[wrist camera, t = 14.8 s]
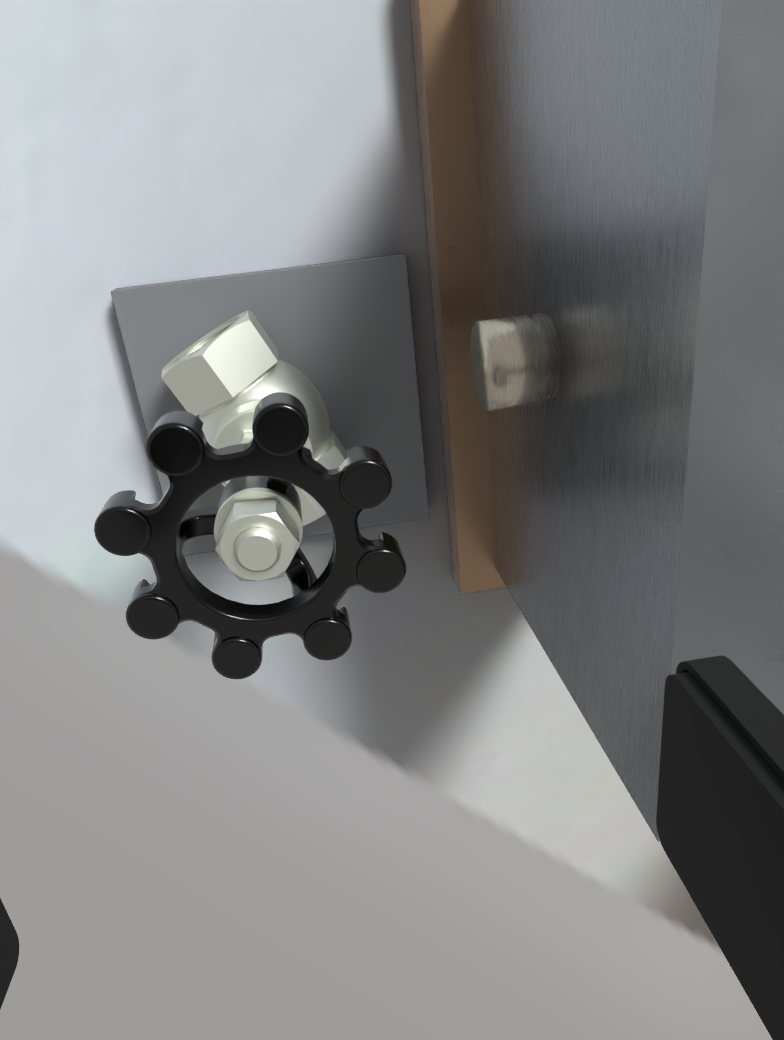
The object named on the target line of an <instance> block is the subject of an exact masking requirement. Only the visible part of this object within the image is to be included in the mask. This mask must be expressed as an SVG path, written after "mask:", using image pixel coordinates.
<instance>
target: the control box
mask: <svg viewBox="0 0 784 1040" xmlns="http://www.w3.org/2000/svg"><path fill="white" fill-rule="evenodd" d="M410 10H411V23H412V37H413V50H414V63H415V76H416V89H417V102H418V116H419V129H420V142H421V155H422V168H423V182H424V195H425V208H426V221H427V234H428V248H429V261H430V274H431V287H432V300H433V314H434V327H435V340H436V353H437V366H438V379H439V393H440V406H441V419H442V432H443V445H444V459H445V472H446V485H447V498H448V511H449V525H450V538H451V551H452V564H453V577H454V580H455V582H456V584H457V586H458V588H459V590H460V592H461V594H467V593H473V592H479V591H485V590H491V589H497V588H503V587H507V589H508V590H509V592H510V594H511V595H512V597H513V599H514V600H515V602H516V604H517V605H518V607H519V609H520V610H521V612H522V614H523V615H524V617H525V619H526V620H527V622H528V624H529V626H530V627H531V629H532V631H533V632H534V634H535V636H536V637H537V639H538V641H539V642H540V644H541V646H542V647H543V649H544V651H545V652H546V654H547V656H548V657H549V659H550V661H551V662H552V664H553V666H554V668H555V669H556V671H557V673H558V674H559V676H560V678H561V679H562V681H563V683H564V684H565V686H566V688H567V689H568V691H569V693H570V694H571V696H572V698H573V699H574V701H575V703H576V704H577V706H578V708H579V710H580V711H581V713H582V715H583V716H584V718H585V720H586V721H587V723H588V725H589V726H590V728H591V730H592V731H593V733H594V735H595V736H596V738H597V740H598V741H599V743H600V745H601V746H602V748H603V750H604V752H605V753H606V755H607V757H608V758H609V760H610V762H611V763H612V765H613V767H614V768H615V770H616V772H617V773H618V775H619V777H620V778H621V780H622V782H623V783H624V785H625V787H626V788H627V790H628V792H629V794H630V795H631V797H632V799H633V800H634V802H635V804H636V805H637V807H638V809H639V810H640V812H641V814H642V815H643V817H644V819H645V820H646V822H647V824H648V825H649V827H650V829H651V830H652V832H653V834H654V836H655V837H656V839H657V841H660V839H659V835H658V831H657V825H656V814H657V799H658V783H659V768H660V752H661V737H662V721H663V706H664V690H665V681H666V678H667V676H669V675H672V674H675V673H676V668H677V666H678V664H679V663H681V662H683V661H689V660H695V659H701V658H707V657H713V656H720V655H722V656H726V657H727V658H729V659H730V660H731V661H732V662H733V663H734V664H735V665H736V666H737V667H738V668H739V669H740V670H741V671H742V672H743V673H744V674H745V675H746V676H747V677H748V678H749V679H750V680H751V681H752V682H753V684H754V685H755V686H756V687H757V688H758V689H759V690H760V691H761V692H762V693H763V694H764V695H765V696H766V697H767V698H768V699H769V700H770V701H771V702H772V703H773V704H774V705H775V706H776V707H777V708H778V709H779V710H780V711H781V712H782V714H783V715H784V0H410Z"/></svg>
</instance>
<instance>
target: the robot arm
mask: <svg viewBox="0 0 784 1040" xmlns="http://www.w3.org/2000/svg"><path fill="white" fill-rule="evenodd" d="M656 825H657V831H658V835H659V839H660V841H661V844H662V846H663V848H664V850H665V852H666V854H667V856H668V858H669V859H670V861H671V863H672V865H673V866H674V868H675V870H676V872H677V873H678V875H679V877H680V878H681V880H682V882H683V884H684V885H685V887H686V889H687V891H688V892H689V894H690V896H691V898H692V899H693V901H694V903H695V905H696V906H697V908H698V910H699V912H700V913H701V915H702V917H703V919H704V920H705V922H706V924H707V926H708V927H709V929H710V931H711V933H712V934H713V936H714V938H715V940H716V941H717V943H718V945H719V947H720V948H721V950H722V952H723V954H724V955H725V957H726V959H727V961H728V962H729V964H730V966H731V967H732V969H733V971H734V973H735V974H736V976H737V978H738V980H739V981H740V983H741V985H742V987H743V988H744V990H745V992H746V994H747V995H748V997H749V999H750V1001H751V1002H752V1004H753V1005H754V1008H755V1009H756V1011H757V1013H758V1014H759V1016H760V1018H761V1020H762V1022H763V1023H764V1025H765V1027H766V1029H767V1030H768V1032H769V1034H770V1035H771V1037H772V1039H773V1040H784V715H783V714H782V712H781V711H780V710H779V709H778V708H777V707H776V706H775V705H774V704H773V703H772V702H771V701H770V700H769V699H768V698H767V697H766V696H765V695H764V694H763V693H762V692H761V691H760V690H759V689H758V688H757V687H756V686H755V685H754V684H753V682H752V681H751V680H750V679H749V678H748V677H747V676H746V675H745V674H744V673H743V672H742V671H741V670H740V669H739V668H738V667H737V666H736V665H735V664H734V663H733V662H732V661H731V660H730V659H729V658H727V657H726V656H722V655H720V656H713V657H707V658H701V659H695V660H689V661H683V662H681V663H679V664H678V666H677V668H676V673H675V674H672V675H669V676H667V678H666V681H665V690H664V706H663V721H662V737H661V752H660V768H659V783H658V799H657V814H656ZM18 955H19V940H18V936H17V933H16V931H15V929H14V927H13V924H12V922H11V920H10V918H9V916H8V914H7V912H6V909H5V907H4V905H3V903H2V901H1V899H0V1008H1V1006H2V1003H3V1001H4V998H5V995H6V993H7V990H8V987H9V984H10V982H11V979H12V977H13V974H14V971H15V969H16V965H17V962H18Z"/></svg>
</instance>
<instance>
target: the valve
mask: <svg viewBox="0 0 784 1040" xmlns="http://www.w3.org/2000/svg"><path fill="white" fill-rule="evenodd" d="M162 379H163V381H164V382H165V383H166V385H167V386H168V387H169V389H170V390H171V391H172V392H173V394H174V395H175V396H176V398H177V399H178V400H179V401H180V403H181V404H182V405H183V407H184V408H185V409H186V411H187V412H185V411H172V412H169V413H167V414H165V415H163V416H162V417H161V418H160V419H159V420H158V421H157V422H156V424H155V426H154V428H153V429H152V431H151V433H150V435H149V437H148V439H147V442H146V452H147V456H148V458H149V461H150V462H151V464H152V465H153V466H154V467H155V468H156V469H157V470H159V471H160V472H162V473H164V474H166V475H167V476H168V478H169V480H170V485H169V486H168V488H167V490H166V491H165V493H164V494H163V497H162V499H161V500H160V501H158V502H156V503H154V504H144V503H141V502H139V501H137V500H134V499H135V495H136V492H135V491H129V490H128V491H121V492H118V493H116V494H114V495H113V496H111V497H110V498H109V499H108V501H107V502H106V504H105V505H104V507H103V509H102V511H101V512H100V514H99V516H98V517H97V519H96V522H95V526H94V532H95V536H96V539H97V541H98V542H99V544H100V545H101V546H102V547H103V548H104V549H105V550H107V551H108V552H110V553H113V554H116V555H120V556H130V555H134V554H137V553H140V554H143V555H145V556H146V557H148V558H149V559H150V561H151V563H152V565H153V568H154V571H155V574H156V577H157V581H156V582H155V583H153V584H151V585H149V583H148V582H147V581H146V580H145V579H143V580H142V581H140V582H139V583H138V585H137V586H136V587H135V589H134V592H133V594H132V597H131V600H130V602H129V605H128V608H127V611H126V621H127V623H128V626H129V627H130V629H131V630H132V631H133V632H134V633H135V634H137V635H139V636H141V637H143V638H147V639H160V638H164V637H166V636H168V635H170V634H171V633H172V632H173V631H174V630H175V629H176V628H177V626H178V624H179V623H181V622H183V621H188V620H191V621H196V622H198V623H200V624H202V625H204V626H206V627H208V628H210V629H212V630H213V631H214V632H215V633H216V634H215V639H214V645H213V652H212V663H213V666H214V668H215V669H216V671H217V672H218V673H220V674H221V675H222V676H224V677H227V678H230V679H243V678H246V677H249V676H251V675H252V674H254V673H255V672H256V671H257V670H258V669H259V667H260V665H261V662H262V648H263V647H262V646H263V642H264V641H265V640H266V639H268V638H270V637H273V636H278V635H282V634H288V633H292V634H296V635H298V636H300V637H301V638H302V640H303V642H304V646H305V649H306V650H307V652H308V653H309V654H310V655H311V656H313V657H315V658H317V659H320V660H333V659H336V658H339V657H341V656H342V655H343V654H345V653H346V652H347V651H348V649H349V647H350V646H351V643H352V632H351V626H350V620H349V614H348V612H347V610H346V608H345V607H342V608H341V609H340V610H338V609H337V608H336V606H337V603H338V602H339V601H340V599H341V598H342V597H343V595H344V594H345V593H346V592H347V590H349V589H350V588H352V587H354V586H363V587H364V588H365V589H367V590H369V591H371V592H374V593H385V592H388V591H391V590H393V589H395V588H396V587H397V586H399V584H400V583H401V582H402V581H403V579H404V577H405V573H406V564H405V561H404V558H403V555H402V552H401V549H400V546H399V544H398V542H397V541H396V539H395V538H394V537H392V536H391V535H389V534H387V533H384V532H381V533H380V534H379V540H367V539H365V538H363V537H362V536H361V534H360V532H359V527H358V516H359V514H360V512H361V511H362V510H363V509H369V508H373V507H376V506H378V505H380V504H381V503H382V502H384V501H385V500H386V498H387V497H388V496H389V494H390V492H391V488H392V477H391V474H390V471H389V469H388V466H387V464H386V462H385V459H384V458H383V456H382V455H381V454H380V453H379V452H378V451H377V450H375V449H373V448H371V447H367V446H358V447H354V448H351V449H349V450H348V451H346V450H345V448H344V447H343V445H342V444H341V442H340V441H339V439H338V438H337V436H336V435H335V433H334V432H333V430H332V429H330V423H329V417H328V412H327V409H326V406H325V403H324V401H323V399H322V397H321V395H320V393H319V391H318V390H317V388H316V387H315V385H314V384H313V383H312V382H311V381H310V379H309V378H308V377H307V376H305V375H304V374H303V373H302V372H301V371H300V370H298V369H297V368H295V367H294V366H292V365H291V364H289V363H287V362H285V361H282V360H280V359H278V349H277V348H276V346H275V345H274V343H273V342H272V340H271V339H270V337H269V336H268V335H267V333H266V332H265V330H264V329H263V327H262V326H261V324H260V323H259V321H258V320H257V318H256V317H255V315H254V314H253V312H252V311H245V312H242V313H240V314H238V315H236V316H235V317H233V318H231V319H229V320H228V321H226V322H224V323H223V324H221V325H220V326H218V327H216V328H215V329H213V330H212V331H210V332H209V333H207V334H206V335H204V336H203V337H201V338H200V339H199V340H197V341H196V342H194V343H193V344H192V345H190V346H189V347H187V348H186V349H185V350H183V351H182V352H181V353H180V354H178V355H177V356H176V357H175V358H173V359H172V360H171V361H170V362H169V363H168V364H166V365H165V366H164V368H163V369H162ZM197 415H199V418H198V417H197ZM220 483H221V484H222V485H223V486H224V487H225V488H224V489H223V491H222V493H221V496H220V500H219V504H218V507H209V508H200V509H194V510H190V511H188V509H189V508H190V507H191V505H192V504H193V503H194V502H195V501H196V499H198V498H199V497H200V496H201V495H203V494H204V493H205V492H206V491H208V490H209V489H211V488H212V487H214V486H216V485H218V484H220ZM325 514H327V516H328V518H329V519H330V521H331V524H332V527H333V531H334V545H333V551H332V555H331V558H330V560H329V563H328V565H327V567H326V568H325V570H324V572H323V573H322V574H321V576H320V577H319V578H318V579H317V578H316V576H315V574H314V571H313V569H312V568H311V566H310V564H309V562H308V560H307V559H306V557H305V556H304V554H303V553H302V551H301V550H300V548H299V546H300V544H301V540H302V535H303V526H304V525H307V524H309V523H311V522H313V521H315V520H317V519H319V518H321V517H322V516H324V515H325ZM206 535H214V537H215V541H216V548H215V551H216V552H217V554H218V555H219V557H220V558H221V559H222V561H223V562H224V563H225V564H226V566H227V567H228V568H229V569H230V570H231V572H232V573H233V574H234V575H235V576H236V577H237V578H238V579H239V580H240V581H258V580H268V579H275V578H280V577H282V576H283V574H284V573H285V572H286V574H287V576H288V578H289V580H290V582H291V584H292V588H293V597H292V598H289V599H287V600H284V601H281V602H278V603H273V604H266V605H249V604H242V603H238V602H235V601H231V600H227V599H225V598H223V597H221V596H219V595H217V594H215V593H213V592H211V591H210V590H209V589H207V588H206V587H205V586H204V585H202V584H201V583H200V582H199V581H198V580H197V579H196V577H195V576H194V575H193V574H192V572H191V571H190V569H189V568H188V566H187V563H186V561H185V559H184V556H183V554H182V550H183V546H184V543H185V542H186V541H188V540H190V539H192V538H195V537H199V536H206Z"/></svg>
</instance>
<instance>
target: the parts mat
mask: <svg viewBox="0 0 784 1040" xmlns="http://www.w3.org/2000/svg"><path fill="white" fill-rule="evenodd" d="M111 296H112V299H113V303H114V307H115V311H116V315H117V319H118V323H119V327H120V330H121V334H122V338H123V342H124V346H125V350H126V354H127V358H128V361H129V365H130V369H131V373H132V377H133V381H134V385H135V389H136V392H137V396H138V400H139V404H140V408H141V412H142V416H143V419H144V423H145V427H146V431H147V435H148V437H149V435H150V433H151V431H152V429H153V428H154V426H155V424H156V422H157V421H158V420H159V419H160V418H161V417H162V416H163V415H165V414H167V413H169V412H172V411H185V412H187V411H186V409H185V408H184V407H183V405H182V404H181V403H180V401H179V400H178V399H177V398H176V396H175V395H174V394H173V392H172V391H171V390H170V389H169V387H168V386H167V385H166V383H165V382H164V381H163V379H162V369H163V368H164V366H165V365H166V364H168V363H169V362H170V361H171V360H172V359H173V358H175V357H176V356H177V355H178V354H180V353H181V352H182V351H183V350H185V349H186V348H187V347H189V346H190V345H192V344H193V343H194V342H196V341H197V340H199V339H200V338H201V337H203V336H204V335H206V334H207V333H209V332H210V331H212V330H213V329H215V328H216V327H218V326H220V325H221V324H223V323H224V322H226V321H228V320H229V319H231V318H233V317H235V316H236V315H238V314H240V313H242V312H245V311H252V312H253V314H254V315H255V317H256V318H257V320H258V321H259V323H260V324H261V326H262V327H263V329H264V330H265V332H266V333H267V335H268V336H269V337H270V339H271V340H272V342H273V343H274V345H275V346H276V348H277V349H278V359H280V360H282V361H285V362H287V363H289V364H291V365H292V366H294V367H295V368H297V369H298V370H300V371H301V372H302V373H303V374H304V375H305V376H307V377H308V378H309V379H310V381H311V382H312V383H313V384H314V385H315V387H316V388H317V390H318V391H319V393H320V395H321V397H322V399H323V401H324V403H325V406H326V409H327V412H328V417H329V423H330V429H332V430H333V432H334V433H335V435H336V436H337V438H338V439H339V441H340V442H341V444H342V445H343V447H344V448H345V450H346V451H348V450H349V449H351V448H354V447H358V446H367V447H371V448H373V449H375V450H377V451H378V452H379V453H380V454H381V455H382V456H383V458H384V459H385V462H386V464H387V466H388V469H389V471H390V474H391V477H392V488H391V492H390V494H389V496H388V497H387V498H386V500H385V501H384V502H382V503H381V504H380V505H378V506H376V507H373V508H369V509H363V510H362V511H361V512H360V514H359V516H358V527H359V529H360V528H367V527H373V526H380V525H386V524H393V523H399V522H405V521H412V520H418V519H425V518H429V511H428V500H427V488H426V477H425V466H424V454H423V443H422V432H421V421H420V409H419V398H418V387H417V376H416V364H415V353H414V342H413V331H412V319H411V308H410V297H409V285H408V274H407V263H406V256H405V255H403V254H397V255H389V256H381V257H373V258H364V259H356V260H348V261H339V262H331V263H323V264H315V265H306V266H298V267H290V268H282V269H273V270H265V271H257V272H249V273H240V274H232V275H224V276H215V277H207V278H199V279H191V280H182V281H174V282H166V283H158V284H149V285H141V286H133V287H124V288H117V289H115V290H113V291H111ZM197 417H198V418H199V415H197ZM156 470H157V469H156ZM157 474H158V478H159V481H160V485H161V489H162V493H163V494H164V493H165V491H166V490H167V488H168V486H169V485H170V480H169V478H168V476H167V475H166V474H164V473H162V472H160V471H159V470H157ZM224 488H225V487H224V486H223V485H222V484H221V483H220V484H218V485H216V486H214V487H212V488H211V489H209V490H208V491H206V492H205V493H204V494H203V495H201V496H200V497H199V498H198V499H196V501H195V502H194V503H193V504H192V505H191V507H190V508H189V509H188V511H190V510H194V509H200V508H209V507H218V504H219V500H220V496H221V493H222V491H223V489H224ZM328 533H334V531H333V527H332V524H331V521H330V519H329V518H328V516H327V514H325V515H324V516H322V517H321V518H319V519H317V520H315V521H313V522H311V523H309V524H307V525H304V526H303V535H302V537H309V536H315V535H322V534H328ZM215 548H216V541H215V537H214V535H206V536H199V537H195V538H192V539H190V540H188V541H186V542H185V543H184V546H183V550H182V554H183V556H186V555H193V554H199V553H206V552H212V551H215Z"/></svg>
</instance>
